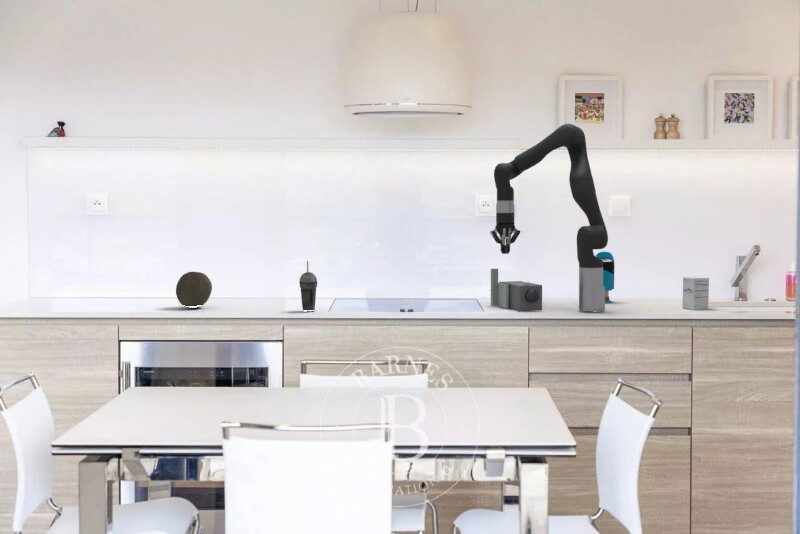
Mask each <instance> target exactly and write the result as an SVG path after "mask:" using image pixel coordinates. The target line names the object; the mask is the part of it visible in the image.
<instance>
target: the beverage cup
mask: <svg viewBox="0 0 800 534" xmlns="http://www.w3.org/2000/svg"><path fill="white" fill-rule="evenodd" d="M298 283H299V288H300V293H301V294H300V297H301V305H302V307H301V308H302V311H303V310H314V311H315V308H316V295H317V288H318V279H317V276H316V275H315V274H314V273H313V272H310V271H309V260H306V272H304V273H302V274H301V275H300V278H299V282H298Z"/></svg>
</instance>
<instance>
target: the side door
mask: <svg viewBox="0 0 800 534" xmlns="http://www.w3.org/2000/svg"><path fill="white" fill-rule="evenodd" d="M490 306H492V307H499V308H504V309H508V308H509V285H507V284H503V283H499V268H490Z"/></svg>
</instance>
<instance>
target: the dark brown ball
mask: <svg viewBox="0 0 800 534" xmlns="http://www.w3.org/2000/svg"><path fill="white" fill-rule="evenodd" d="M212 289H213V285H212V281H211V279H210V278H209V276H208V275H206V274H205V273H203V272H198V271H187V272H186V273H184V274H182V275H181V276H180V278H179V279H178V281H177V284H176V287H175V295H176V299H177V300H178V302H179V303H180V304H181V306H183V305H185V306H197V305H202V306H204V305H205V304H206V303H207V302H208V301H209V298H210V296H211V294H212V291H213V290H212ZM185 306H184V307H185Z"/></svg>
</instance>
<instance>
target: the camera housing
mask: <svg viewBox="0 0 800 534" xmlns="http://www.w3.org/2000/svg"><path fill="white" fill-rule="evenodd" d="M498 283H503V284H507V285H509V308H507V309H508V310H513V311H516V310H517V312H520V311H521V312H533V311H532V310H542V311H543V285H542V284H538V283H534V282H533V283H532V282H530V281H522V280H516V281H515V280H513V281H498Z"/></svg>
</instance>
